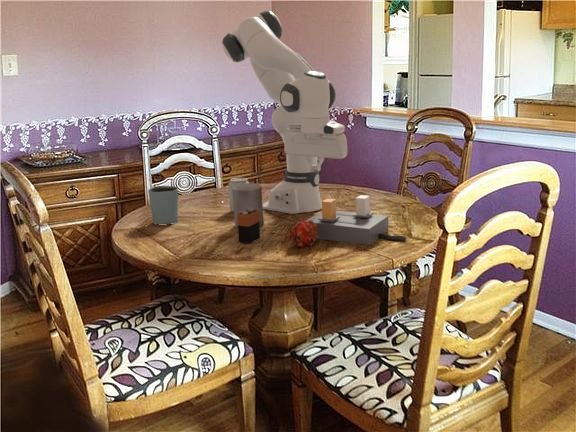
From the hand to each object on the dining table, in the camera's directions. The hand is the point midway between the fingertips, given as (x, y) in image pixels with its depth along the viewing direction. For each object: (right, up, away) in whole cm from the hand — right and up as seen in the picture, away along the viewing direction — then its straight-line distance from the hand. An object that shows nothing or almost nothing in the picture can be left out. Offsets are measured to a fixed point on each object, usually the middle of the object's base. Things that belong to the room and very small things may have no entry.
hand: (315, 170), depth 199 cm
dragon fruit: (-4, -23, -6) cm, 24 cm away
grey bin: (-51, -16, +25) cm, 59 cm away
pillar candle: (-22, -18, +17) cm, 33 cm away
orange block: (+4, -15, +1) cm, 16 cm away
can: (-26, -12, +37) cm, 47 cm away
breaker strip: (+14, -20, +2) cm, 25 cm away
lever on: (+15, -14, +4) cm, 21 cm away
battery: (-21, -22, +1) cm, 30 cm away
